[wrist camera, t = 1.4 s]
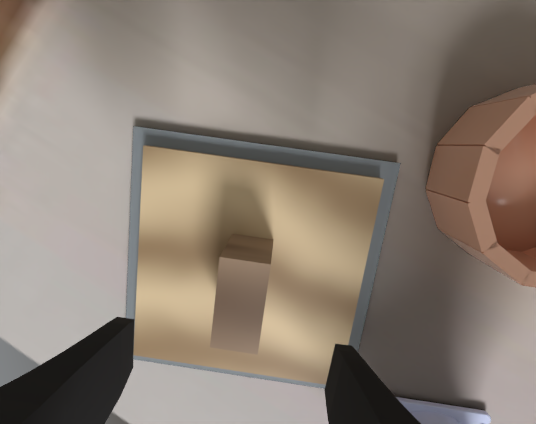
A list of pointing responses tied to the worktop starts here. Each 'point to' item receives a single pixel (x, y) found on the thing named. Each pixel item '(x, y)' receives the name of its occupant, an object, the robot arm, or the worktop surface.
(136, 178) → the shallow square tray
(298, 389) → the worktop surface
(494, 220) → the terracotta bowl
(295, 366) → the cover board
